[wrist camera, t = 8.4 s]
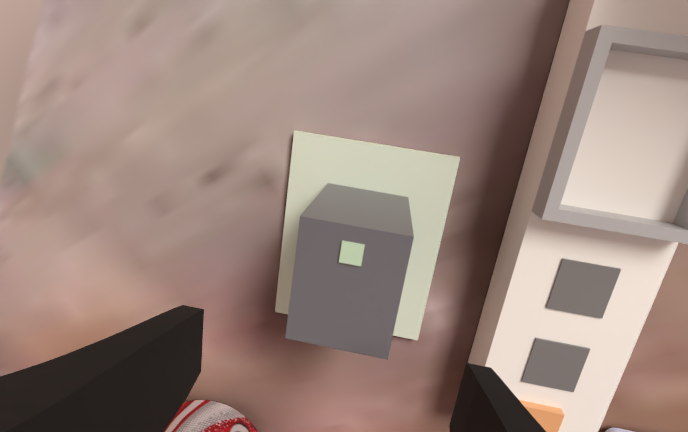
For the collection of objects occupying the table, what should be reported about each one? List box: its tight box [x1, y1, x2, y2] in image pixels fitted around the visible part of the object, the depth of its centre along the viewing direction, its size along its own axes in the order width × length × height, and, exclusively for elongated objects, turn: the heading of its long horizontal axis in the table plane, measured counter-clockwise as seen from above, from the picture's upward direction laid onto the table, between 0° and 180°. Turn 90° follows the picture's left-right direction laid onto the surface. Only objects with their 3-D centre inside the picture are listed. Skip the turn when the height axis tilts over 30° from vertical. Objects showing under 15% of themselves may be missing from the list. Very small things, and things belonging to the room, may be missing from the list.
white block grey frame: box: [468, 0, 688, 432], centre depth 17 cm, size 22×6×4 cm, turn 172°
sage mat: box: [275, 131, 460, 340], centre depth 20 cm, size 10×8×1 cm
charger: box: [285, 183, 414, 360], centre depth 17 cm, size 5×4×6 cm
